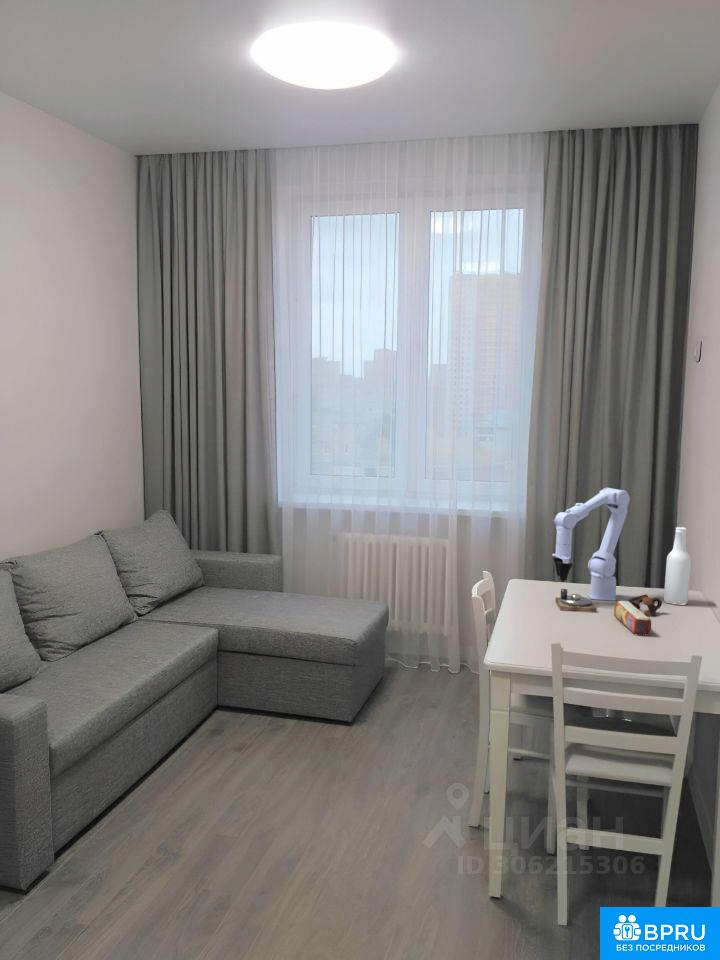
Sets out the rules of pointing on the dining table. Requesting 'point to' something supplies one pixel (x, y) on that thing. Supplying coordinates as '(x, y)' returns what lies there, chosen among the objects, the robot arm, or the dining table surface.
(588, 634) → the dining table surface
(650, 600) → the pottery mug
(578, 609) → the walnut base
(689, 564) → the alcohol
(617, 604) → the snack package
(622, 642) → the dining table surface
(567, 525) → the robot arm
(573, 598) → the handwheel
